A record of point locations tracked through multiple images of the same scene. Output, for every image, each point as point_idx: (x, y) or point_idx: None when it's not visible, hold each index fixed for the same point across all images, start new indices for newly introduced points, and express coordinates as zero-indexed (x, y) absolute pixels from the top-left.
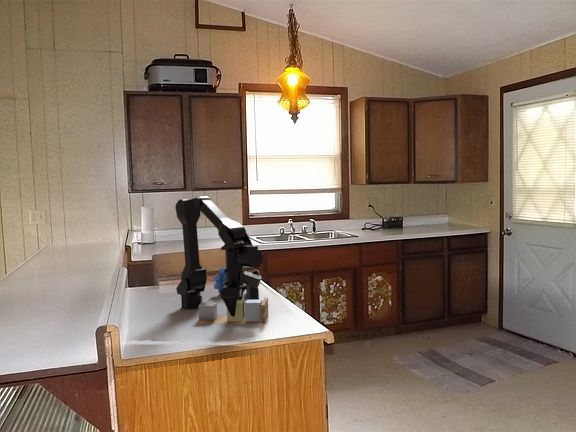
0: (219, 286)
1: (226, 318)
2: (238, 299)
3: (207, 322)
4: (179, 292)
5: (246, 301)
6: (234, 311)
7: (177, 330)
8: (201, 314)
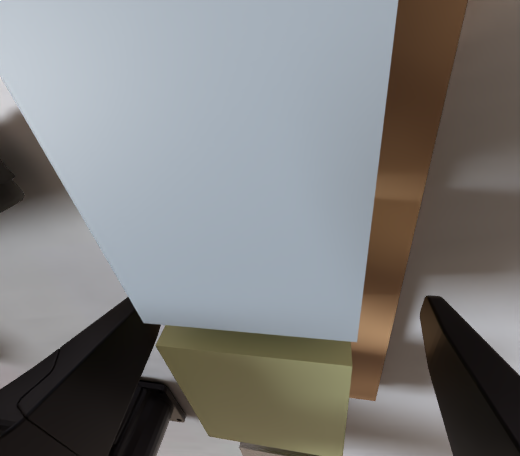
0: None
1: None
2: (113, 364)
3: (363, 369)
4: None
5: (258, 322)
6: (483, 347)
7: (426, 423)
8: None
